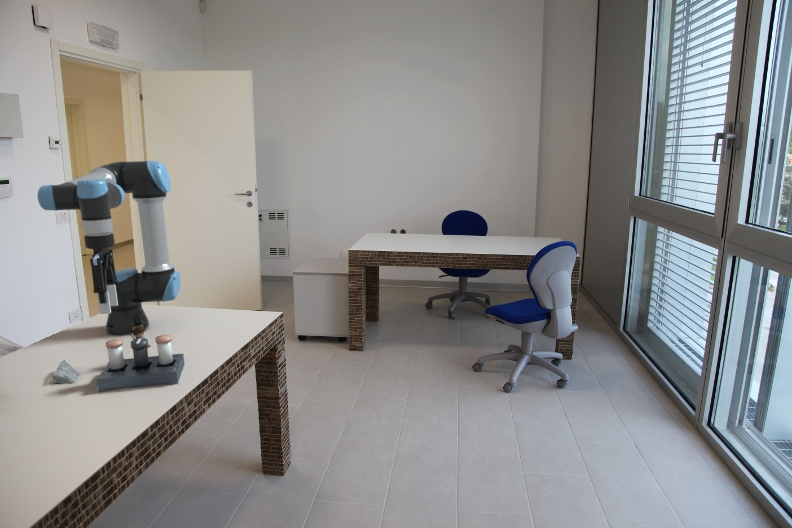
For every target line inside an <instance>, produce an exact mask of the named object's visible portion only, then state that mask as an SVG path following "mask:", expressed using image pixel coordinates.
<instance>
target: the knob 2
mask: <svg viewBox="0 0 792 528" xmlns="http://www.w3.org/2000/svg"><path fill="white" fill-rule="evenodd" d="M172 340H173V339H172V335H171V334H160V335H158V336H156V337H155V338H154V341H155V344H156V346H157V356H158V357H159V364H163V365H164V364H169V363H172V362H173V356H172V355H173V348H172Z"/></svg>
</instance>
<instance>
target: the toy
mask: <svg viewBox="0 0 792 528" xmlns="http://www.w3.org/2000/svg"><path fill="white" fill-rule="evenodd" d="M132 322H133V321H132ZM140 322H141V321H140ZM143 322H144V321H143ZM144 326H145V325H144ZM144 326H143V325H137V326H136V325H135V326H134V327H133V329H132V331H131V332H132V333H130V334H129V335H130V337H131V338H132V340H135V339H141V338H145V339H146V337H145V332H146V331H147V328H148V327H147V326H146V327H147V328H144ZM129 331H130V330H129ZM149 348H151V344H148V346H147V350H148V349H149Z"/></svg>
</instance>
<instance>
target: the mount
mask: <svg viewBox="0 0 792 528" xmlns="http://www.w3.org/2000/svg"><path fill="white" fill-rule="evenodd" d="M172 356H173V362H172V363H169V364H164V365H163V364H159V357H158V355H154V356H153V355H152V356H148V358H149V364H148V365H146V366H143V367H136V366H135V362H134V357H131V358H124V363H125V366H124V367H122V368H120V369H110V364H109V361H108V362H107V364H106V366H105V367H104V368H103V369H102V371H101V372H100V374H99V375H98V377H97V378H96V384H97V391H98V393H101V392H109V391H119V390H127V389H129V390H130V389H138V388H146V387H148V388H149V387H154V386H155V387H156V386H166V385H176V384H178V383H179V381H180V378H181V376H182V372H183V370H184V367H185V356H184V353H176V354H175V353H174V354H173V353H172Z"/></svg>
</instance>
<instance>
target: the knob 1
mask: <svg viewBox="0 0 792 528" xmlns="http://www.w3.org/2000/svg"><path fill="white" fill-rule="evenodd" d="M123 344H124V342H123V339H122V338H112V339H110V340H107V341H106V342H105V348H106V350H107V355H108V362H109V364H110V369H120V368H122V367H124V366H125V363H124V359H125V358H124V351H123Z"/></svg>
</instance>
